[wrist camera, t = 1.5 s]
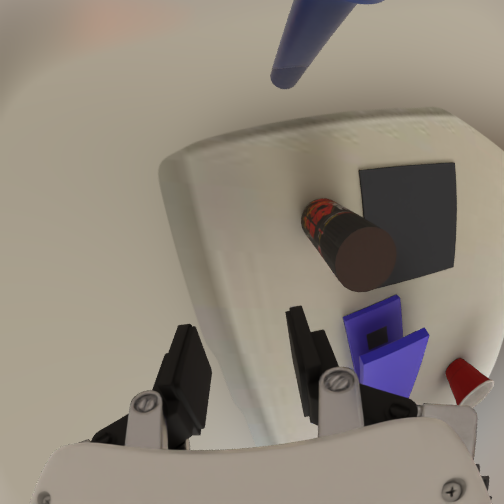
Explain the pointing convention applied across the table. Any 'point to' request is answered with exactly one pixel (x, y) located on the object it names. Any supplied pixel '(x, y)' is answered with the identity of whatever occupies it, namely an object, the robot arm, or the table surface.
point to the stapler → (385, 347)
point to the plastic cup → (467, 383)
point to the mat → (414, 215)
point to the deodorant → (350, 245)
